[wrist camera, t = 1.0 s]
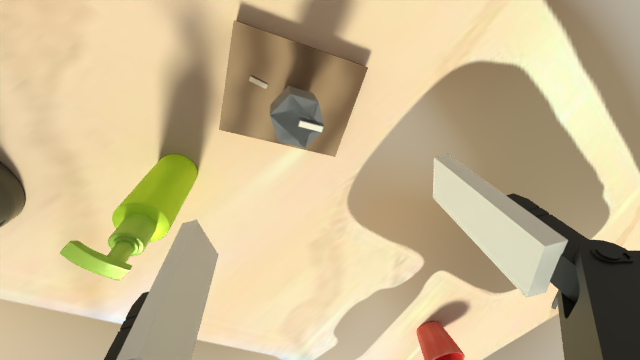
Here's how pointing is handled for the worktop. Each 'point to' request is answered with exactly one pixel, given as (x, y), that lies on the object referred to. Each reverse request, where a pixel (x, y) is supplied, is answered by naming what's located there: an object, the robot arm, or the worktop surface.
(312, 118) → the knob
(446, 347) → the flower pot
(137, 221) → the soap dispenser
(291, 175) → the worktop surface
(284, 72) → the wooden board with bolt
